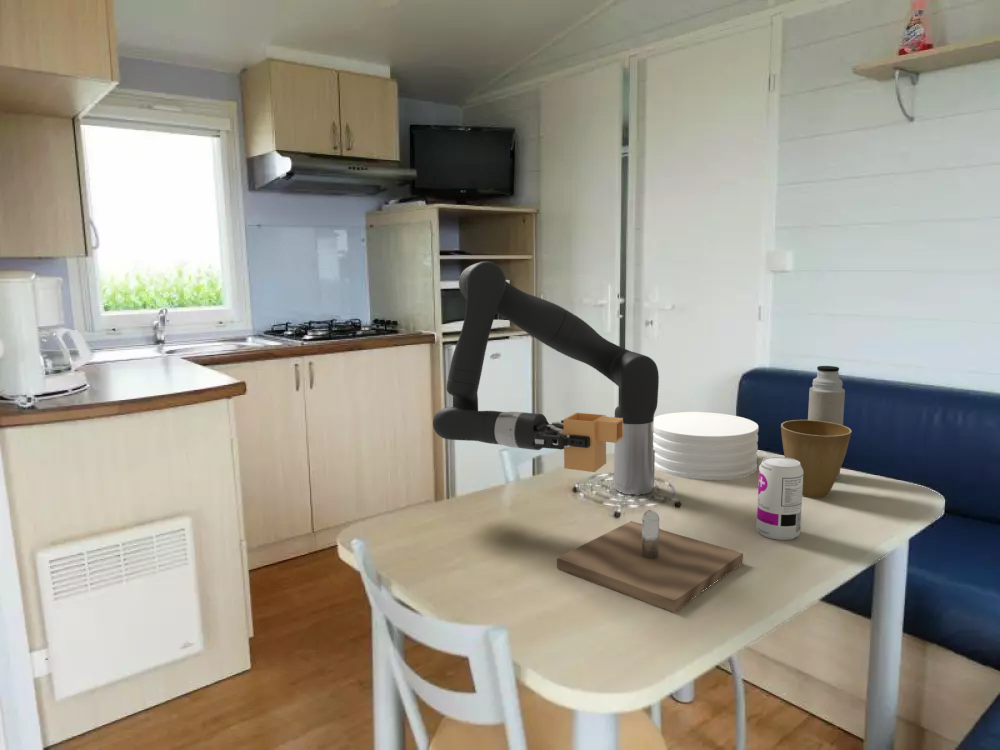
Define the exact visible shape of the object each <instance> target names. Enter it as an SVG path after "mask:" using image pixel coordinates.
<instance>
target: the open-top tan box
mask: <svg viewBox="0 0 1000 750" xmlns="http://www.w3.org/2000/svg"><path fill="white" fill-rule="evenodd" d="M563 423H564V433H566V434H571V435H581V436H589V437H590V447H588V448H583V447H574V446H571V447H569V448H567V447H564V449H563V455H564V456H563V459H564V460H563V461H564V466H563V467H564V469H565V470H574V471H582V472H590V473H595V472H597V471H598V470H600V469H601V468H602V467H603V466H605V465H606V464H607V443H612V444H614V443H617V442H618V441H619V440H621V439H622V438H623V418H616V417H615V416H606V414H597V413H596V414H595V413H584V412H575V413H573V414H571V415H569V416H567V417H565V418H564V419H563Z"/></svg>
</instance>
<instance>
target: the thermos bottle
mask: <svg viewBox="0 0 1000 750" xmlns="http://www.w3.org/2000/svg"><path fill="white" fill-rule="evenodd" d="M816 370H817V372H816V373H817V374H816V375H817V376H816V377H815V378H813V379H812V386H811V387H809V392H808V393H809V395H808V409H807V410H808V413H807V420H816V421H824V422H831V423H836V424H840V425H843V426H844V412H845V396H846V395H845V394H846V390H845V389H844V388H843V385H844V383H843V380H842V379H841V378H840V373H839V371H840V367H839V366H834V365H818V366H817V368H816ZM840 476H841V470H840V471H839V474H838V476H837V478H836V480H839V479H840Z"/></svg>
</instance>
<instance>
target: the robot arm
mask: <svg viewBox="0 0 1000 750" xmlns="http://www.w3.org/2000/svg"><path fill="white" fill-rule="evenodd" d="M506 279H507V278H506V275H505V272H504V271H503V269H502V268H501V267H500V266H499V265H498V264H496V263H494V262H492V261H488V260H487V261H479V262H476V263H473V264H471V265H469V266H468V267H466V268H465V269H463V271H462V272H461V274H460V276H459V279H458V286H459V287H458V288H459V291H460V293H461V295H462V296H463V297H464V299H465V300H466V303H465V304H466V305H465V315H464V319H463V324H462V328H461V331H460V333H459V336H458V340H457V342H456V345H455V348H454V350H453V355H452V358H451V361H450V366H449V367H450V368H449V372H448V376H447V381H446V391H447V393H448V395H451V396H452V407H451V406H448V407H444V408H441V409H439V410H438V411H437V412H436V413H435V414H434V417H433V419H432V427H433V430H434V431H435V433H436V435H438V436H439V437H440V438H441V439H444V440H450V441H470V442H473V441H474V442H480V443H485V444H491V445H500V446H505V447H508V448H515V449H524V450H525V449H526V450H531V451H532V450H533V451H541V450H542V449H550V450H551V449H552V450H560V451H561V450H564V447H567V448H569V447H571V446H574V447H583V448H588V447H590V437H589V436H581V435H571V434H566V433H564V423H563V420H562V419H561V420H560V421H552V422H551V423H549V422H548V420H547V418H546V416H545V415H544V414H542V413H536V412H525V411H524V412H522V411H498V410H497V411H496V410H479V397H478V390H479V386H480V383H481V382H480V381H481V376H482V372H483V368H484V367H483V366H484V361H485V356H486V350H487V345H488V342H489V338H490V334H491V331H492V326H493V323H494V320H495V316H496V315H499V316H500V317H502V318H505V320H507V321H509V322H511V323H513V325H515V326H517V327H518V329H521V330H522V331H524V332H525V333H527V334H528V335H530V336H532V338H535V339H537V341H539V342H541V343H542V344H544V345H546V346H547V347H549V348H551V349H553V350H554V351H557V352H558V353H560V354H563V355H564V356H567V357H568V358H571V359H573V360H576V361H578V362H581V363H583V364H586V365H588V366H590V367H592V368H593V369H595V370H596V371H597V372H599V373H600V374H601V375H603V376H604V377H605V378H607V379H608V380H610V381H611V382H612V383H614V384H615V385H616V386H617V387H618V388H620V401H619V404H618V405H617V406H616V407H615V409H614V417H616V418H623V438H622V439H621V440H619V441H618V442H617V443H613V444H614V445H613V446H614V450H613V451H614V453H613V454H614V455H613V457H614V458H613V463H614V464H613V488H614V487H615V488H616V489H617V490H619V491H621V492H625V493H630V494H643V495H647V494H649V493H652V492H653V489H654V488H655V469H654V465H655V450H654V449H653V439H654V417H655V414H656V411H657V407H658V403H659V401H658V399H659V387H660V386H659V385H660V384H659V382H660V381H659V379H660V376H659V368H658V366H657V363H656V361H654V359H652V358H651V357H650V356H647V355H645V354H642V353H639V352H635V351H631V350H629V349H626V348H623V347H621V346H619V345H617V344H615V343H613V342H611V341H609V340H607V338H604V337H603V336H602V335H600V334H599V333H598V332H597V331H596V330H595V329H594V328H593V327H592V326H591V325H590V324H589V323H588V322H586V321H584V320H583V319H582V318H580V317H579V316H577V315H575V314H574V313H573V312H570V311H569V310H567V309H565V308H564V307H562V306H561V305H558V304H556V303H554V302H552V301H548V300H546V299H544V298H541V297H539V296H535V295H532V294H530V293H527V292H525V291H523V290H520V289H518V288H517V287H515V286H514V285H512V284H511V283H509V282H508V281H507V280H506ZM646 493H647V494H646Z"/></svg>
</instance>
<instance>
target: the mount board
mask: <svg viewBox="0 0 1000 750" xmlns="http://www.w3.org/2000/svg"><path fill="white" fill-rule="evenodd" d="M743 560H744V553H743V552H741V551H737V550H734V549H731V548H730V549H729V548H726V547H724V546H720V545H716V544H713V543H708V542H705V541H702V540H699V539H695V538H692V537H689V536H684V535H681V534H679V533H674V532H671V531H668V530H664V529H660V528H659V557H658V558H656V559H647V558H644V557H643V556H642V523H640V522H636V521H634V520H630V521H628V522H626V523H624V524H622V525H621V526H618V527H617V528H614V529H612V530H610V531H608V532H606V533H603V534H602V535H600V536H598V537H596V538H594V539H593V540H590V541H588V542H586V543H584V544H582V545H580V546H578V547H576V548H574V549H572V550H570V551H568V552H565V553H564V554H562V555H560V556H558V557H556V569H559V570H560V571H563V572H566V573H569V574H571V575H575V576H576V577H579V578H581V579H584V580H586V581H587V580H588V581H590V582H593V583H595V584H598V585H601V586H604V587H606V588H607V589H611V590H613V591H617V592H619V593H622V594H625V595H627V596H630V597H632V598H635V599H638V600H641V601H643V602H646V603H648V604H651V605H653V606H656V607H659V608H661V609H664V608H665V610H667V611H669V610H670V612H672V613H676V612H677V611H678V609H679V608H680V609H681V608H683V607H685V605H687V604H689V603H690V602H691V601H692V600H693V599H692V598H694V597H695V596H697V595H698V594H699V593H701V592H702V591H703V590H705V589H706V588H708V587H709V586H710V585H712V584H713V583H714V582H716V581H717V580H719V579H720V578H722V577H723V576H724V577H726V576H727V575H729V574H730V573H732V572H733V571H734V570H736V569H737V568H738V567H740V566H741V565H743ZM739 565H740V566H739ZM735 568H736V569H735ZM732 570H733V571H732ZM729 572H730V573H729ZM728 573H729V574H728ZM726 574H727V575H726ZM725 575H726V576H725ZM724 577H723V578H724ZM723 578H722V579H723ZM720 580H721V579H720ZM720 580H719V581H720ZM716 583H717V582H716ZM713 585H714V584H713ZM713 585H712V586H713ZM709 588H710V587H709ZM709 588H708V589H709ZM706 590H707V589H706ZM706 590H705V591H706ZM702 593H703V592H702ZM702 593H701V594H702ZM699 595H700V594H699ZM699 595H698V596H699ZM698 596H697V597H698ZM695 598H696V597H695ZM695 598H694V599H695ZM691 599H692V600H691ZM690 600H691V601H690ZM689 601H690V602H689ZM686 603H687V604H686ZM682 606H683V607H682ZM680 609H679V610H680ZM675 611H676V612H675Z"/></svg>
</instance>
